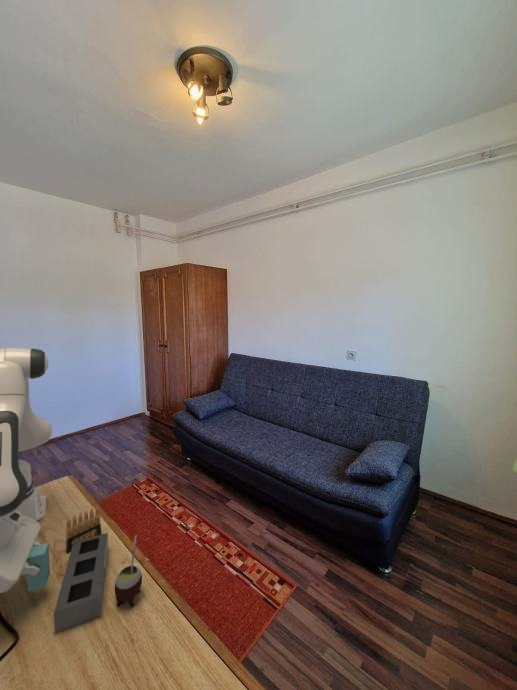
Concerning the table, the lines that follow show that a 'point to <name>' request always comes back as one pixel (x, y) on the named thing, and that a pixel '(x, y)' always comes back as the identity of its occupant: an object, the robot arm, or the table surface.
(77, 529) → the ammunition clip
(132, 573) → the mate gourd
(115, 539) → the table surface
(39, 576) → the square peg
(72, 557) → the block with square holes
